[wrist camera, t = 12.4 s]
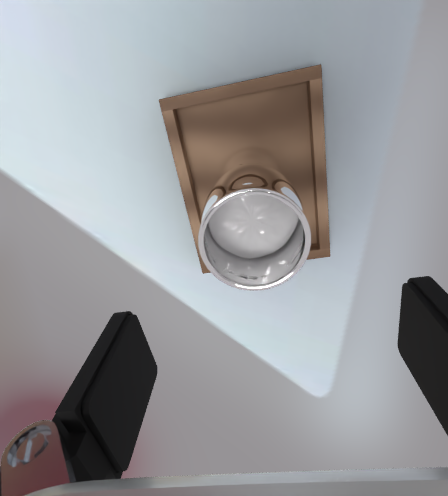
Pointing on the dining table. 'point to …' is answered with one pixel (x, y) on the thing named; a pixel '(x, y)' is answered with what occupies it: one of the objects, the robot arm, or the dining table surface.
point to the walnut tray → (253, 140)
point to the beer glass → (253, 224)
